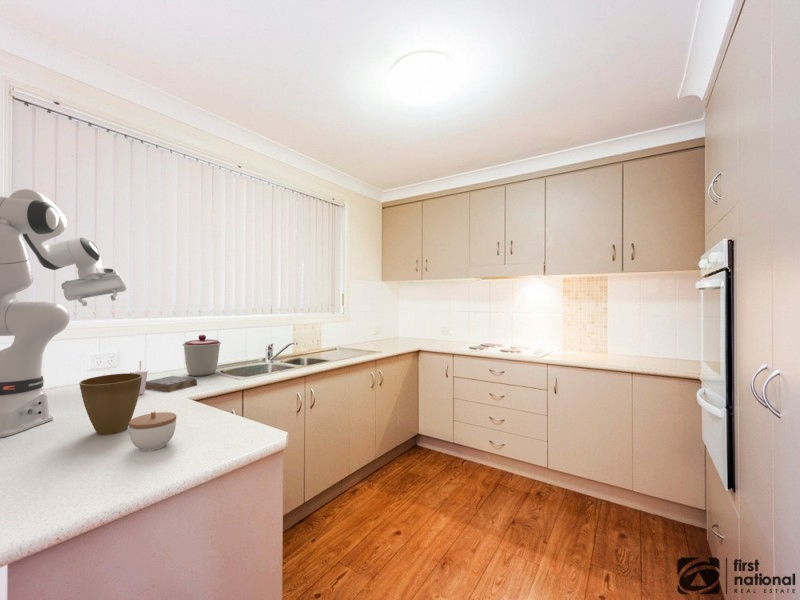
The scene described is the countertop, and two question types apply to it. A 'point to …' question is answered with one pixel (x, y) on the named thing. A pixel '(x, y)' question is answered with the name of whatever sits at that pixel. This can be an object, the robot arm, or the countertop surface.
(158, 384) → the dark brown flat slab
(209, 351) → the canister
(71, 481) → the countertop surface
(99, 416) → the plant pot
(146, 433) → the lidded jar
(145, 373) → the smoothie
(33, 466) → the countertop surface
